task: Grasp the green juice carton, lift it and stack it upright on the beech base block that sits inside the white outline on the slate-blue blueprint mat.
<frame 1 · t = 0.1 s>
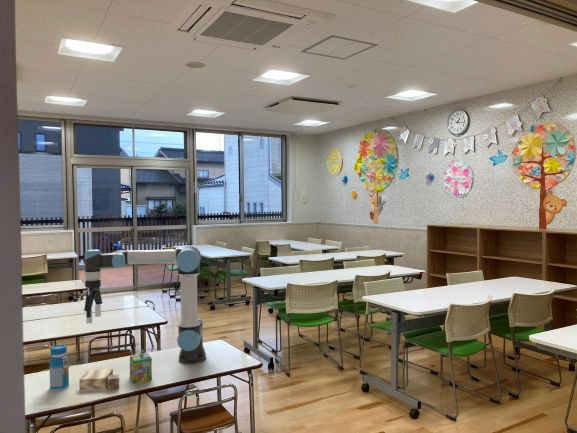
hand: (93, 319, 230), 28 cm above the table, fingers open, 13 cm apart
walnut cube: (113, 387, 211), resting on blueprint mat
base block: (96, 384, 215), resting on blueprint mat
green juice carton: (140, 379, 222), on the table
blueprint mat: (104, 382, 218), on the table
beverage bottle: (59, 388, 212), on the table
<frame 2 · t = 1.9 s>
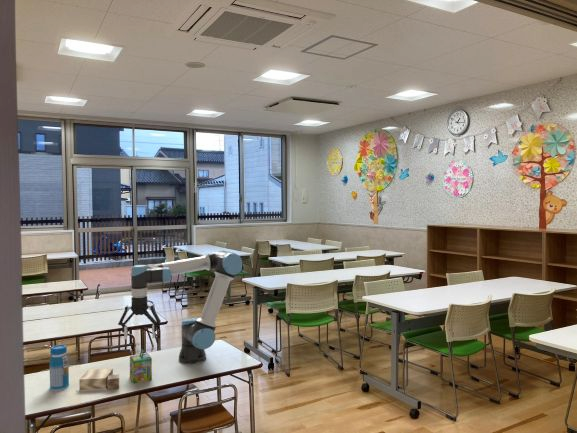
hand: (139, 338, 221), 21 cm above the table, fingers open, 13 cm apart
nothing on the table moved.
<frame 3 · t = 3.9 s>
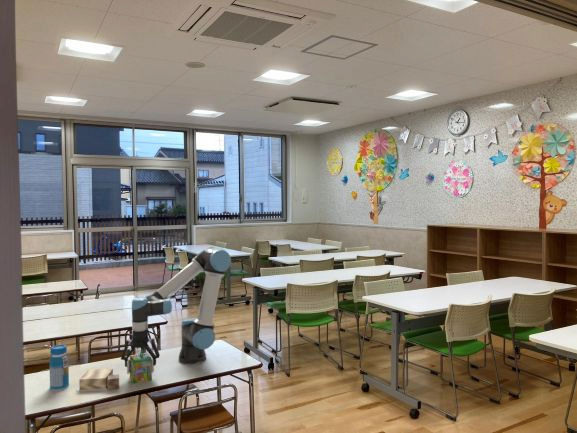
hand: (140, 372, 221), 4 cm above the table, fingers closed on green juice carton, 11 cm apart
green juice carton: (140, 379, 222), on the table, touching gripper
everything else where it was.
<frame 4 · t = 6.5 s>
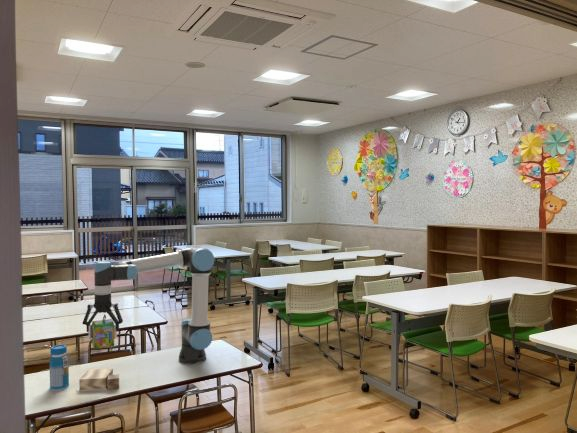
hand: (102, 338, 215), 23 cm above the table, fingers closed on green juice carton, 11 cm apart
green juice carton: (103, 345, 216), point 19 cm above the table, touching gripper
everything else where it was.
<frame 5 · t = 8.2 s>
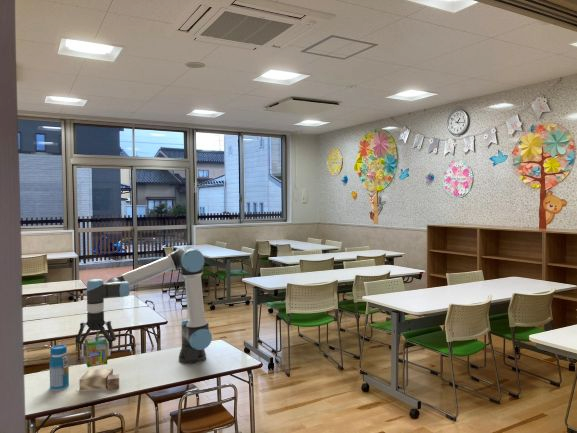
hand: (96, 355, 215), 14 cm above the table, fingers closed on green juice carton, 11 cm apart
green juice carton: (96, 363, 215), point 11 cm above the table, touching gripper
everything else where it was.
when the fingers open (10 cm above the table, at t = 9.6 s): green juice carton stays where it is, resting on base block.
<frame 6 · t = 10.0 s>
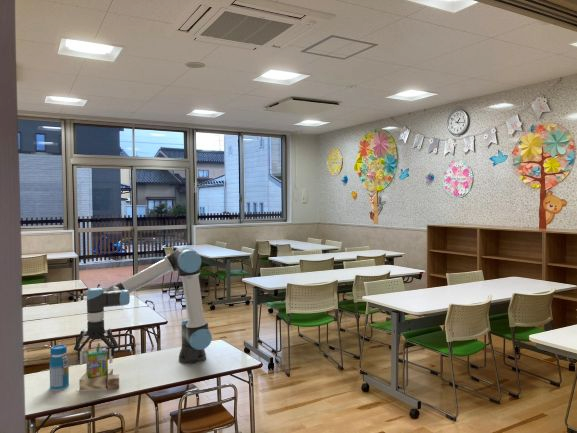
hand: (96, 363, 215), 11 cm above the table, fingers open, 13 cm apart
base block: (96, 384, 215), resting on blueprint mat, touching green juice carton
green juice carton: (97, 374, 215), point 5 cm above the table, touching base block
everything else where it was.
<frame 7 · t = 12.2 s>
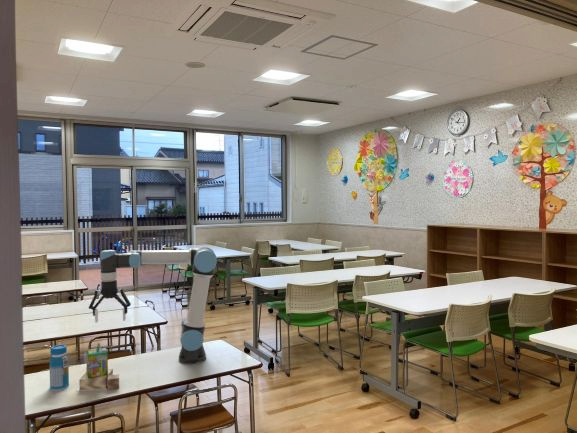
hand: (110, 321, 227), 28 cm above the table, fingers open, 13 cm apart
nothing on the table moved.
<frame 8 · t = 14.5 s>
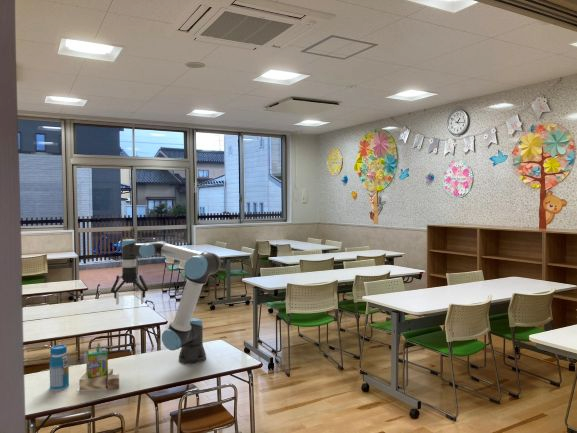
hand: (129, 303, 250), 32 cm above the table, fingers open, 13 cm apart
nothing on the table moved.
at the end: green juice carton 0.3 cm from the base block (horizontally); green juice carton touching base block; green juice carton tilted 0° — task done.
